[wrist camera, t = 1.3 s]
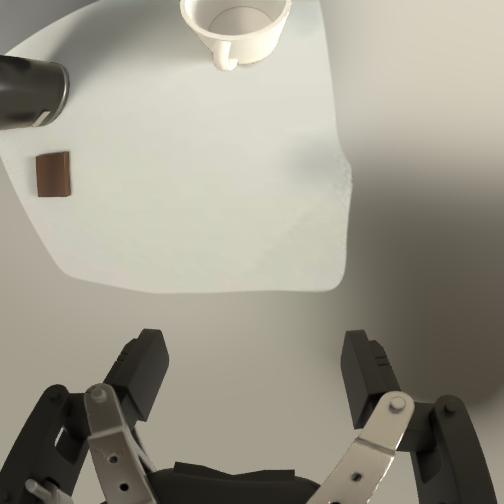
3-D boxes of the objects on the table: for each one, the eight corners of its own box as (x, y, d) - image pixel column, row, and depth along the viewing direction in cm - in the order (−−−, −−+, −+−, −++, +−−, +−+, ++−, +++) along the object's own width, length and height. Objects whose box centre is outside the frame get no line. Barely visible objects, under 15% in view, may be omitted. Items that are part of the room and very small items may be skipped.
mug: (212, 1, 22) (195, -42, 13) (289, 12, 23) (300, -30, 13) (190, 79, 27) (161, 58, 17) (269, 92, 27) (274, 72, 18)
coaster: (42, 195, 32) (38, 197, 31) (39, 155, 30) (35, 156, 29) (70, 195, 32) (66, 196, 31) (68, 152, 30) (64, 152, 29)
